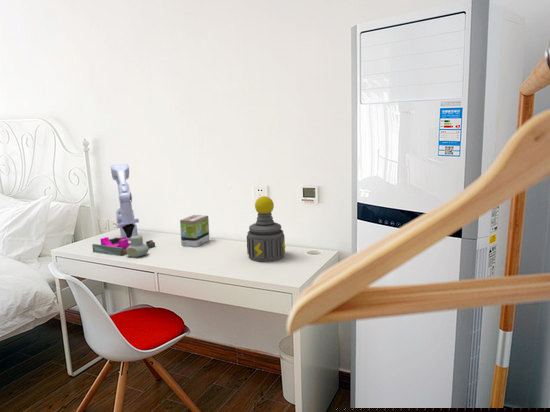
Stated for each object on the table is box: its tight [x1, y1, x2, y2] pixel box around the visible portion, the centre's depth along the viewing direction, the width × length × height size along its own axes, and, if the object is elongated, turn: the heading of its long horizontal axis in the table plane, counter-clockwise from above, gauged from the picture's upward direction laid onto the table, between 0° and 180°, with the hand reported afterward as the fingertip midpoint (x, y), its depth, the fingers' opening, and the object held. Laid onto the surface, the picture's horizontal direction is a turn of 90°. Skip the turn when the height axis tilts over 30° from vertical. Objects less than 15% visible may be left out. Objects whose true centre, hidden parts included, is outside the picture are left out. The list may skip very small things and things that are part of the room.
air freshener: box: [126, 234, 150, 258], centre depth 219 cm, size 11×8×10 cm
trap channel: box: [91, 237, 156, 257], centre depth 234 cm, size 23×29×4 cm
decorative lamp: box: [246, 195, 286, 263], centre depth 208 cm, size 19×19×30 cm
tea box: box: [179, 214, 210, 248], centre depth 238 cm, size 15×10×15 cm
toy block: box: [100, 236, 131, 250], centre depth 228 cm, size 15×6×8 cm, turn 69°
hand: (129, 237), depth 239 cm, fingers closed
